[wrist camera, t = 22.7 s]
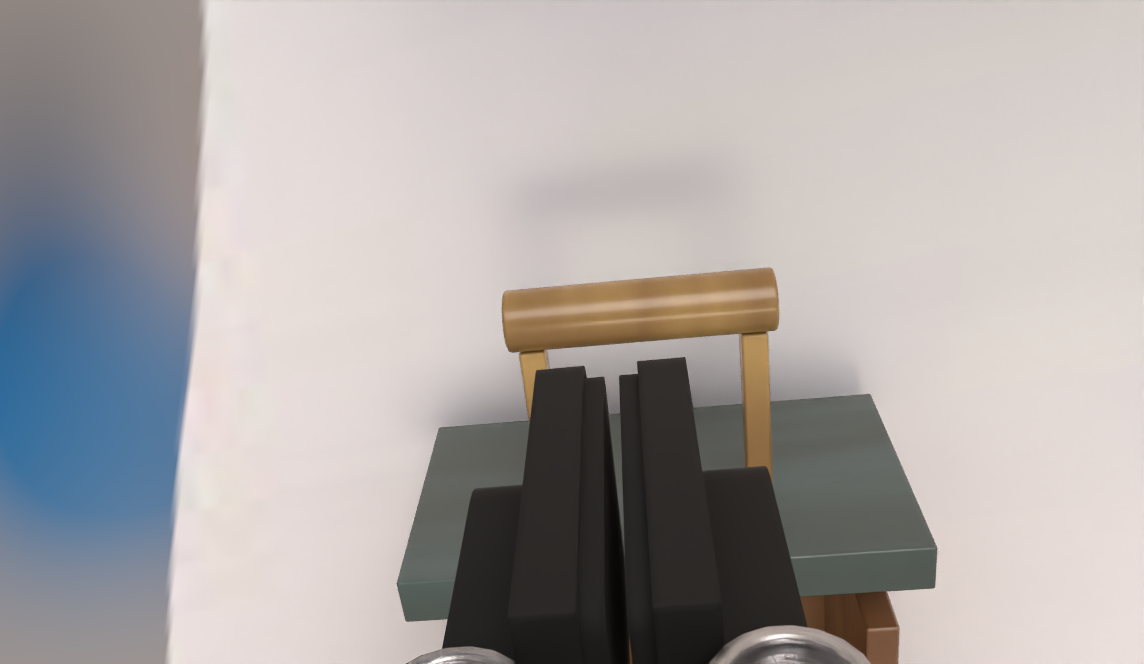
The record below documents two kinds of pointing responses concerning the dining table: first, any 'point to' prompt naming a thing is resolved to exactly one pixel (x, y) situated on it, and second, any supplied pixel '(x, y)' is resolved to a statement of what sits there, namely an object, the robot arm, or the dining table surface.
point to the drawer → (705, 452)
